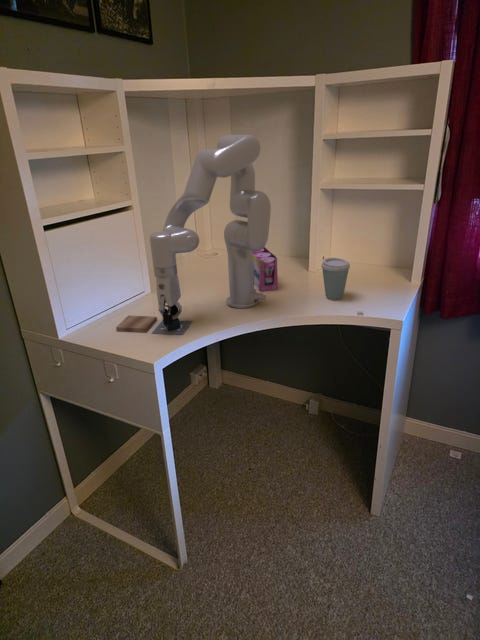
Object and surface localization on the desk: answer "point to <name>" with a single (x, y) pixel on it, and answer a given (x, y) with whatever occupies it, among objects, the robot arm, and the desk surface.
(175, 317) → the watch
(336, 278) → the disposable coffee cup
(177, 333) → the mat
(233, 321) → the desk surface
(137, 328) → the walnut board
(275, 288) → the gum box
